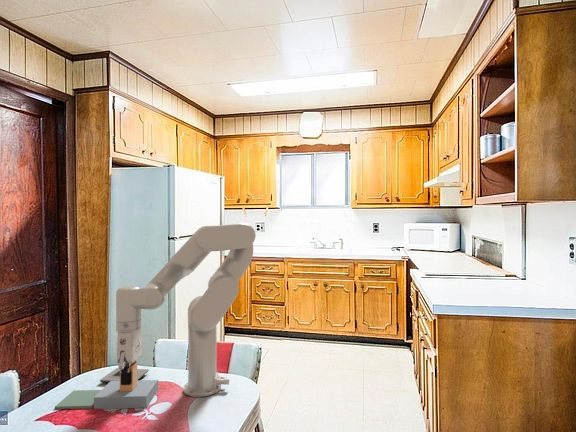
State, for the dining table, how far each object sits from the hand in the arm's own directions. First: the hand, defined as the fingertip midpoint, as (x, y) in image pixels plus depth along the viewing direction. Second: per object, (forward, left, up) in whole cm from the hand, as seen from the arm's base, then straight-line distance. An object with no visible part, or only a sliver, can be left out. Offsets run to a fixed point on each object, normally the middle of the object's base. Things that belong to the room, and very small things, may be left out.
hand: (129, 380), depth 121 cm
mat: (+15, 0, -6) cm, 16 cm away
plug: (0, 0, -4) cm, 4 cm away
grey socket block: (0, 0, -6) cm, 6 cm away
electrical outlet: (+7, -16, -6) cm, 19 cm away
